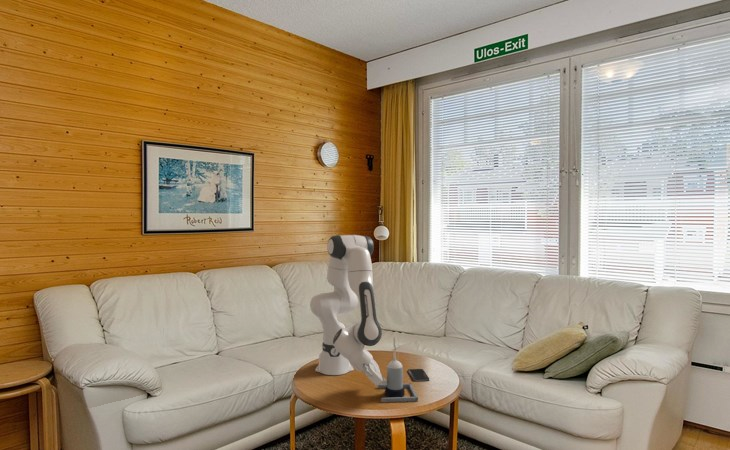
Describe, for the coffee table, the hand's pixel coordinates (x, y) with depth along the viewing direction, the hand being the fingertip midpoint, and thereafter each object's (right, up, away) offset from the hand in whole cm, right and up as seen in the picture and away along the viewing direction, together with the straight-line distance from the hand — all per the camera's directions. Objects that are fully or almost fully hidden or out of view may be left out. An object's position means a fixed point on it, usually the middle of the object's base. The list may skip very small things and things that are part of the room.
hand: (385, 383), depth 195 cm
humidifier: (+4, -5, 0) cm, 6 cm away
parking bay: (+4, -5, +1) cm, 7 cm away
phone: (+17, -5, +24) cm, 29 cm away
